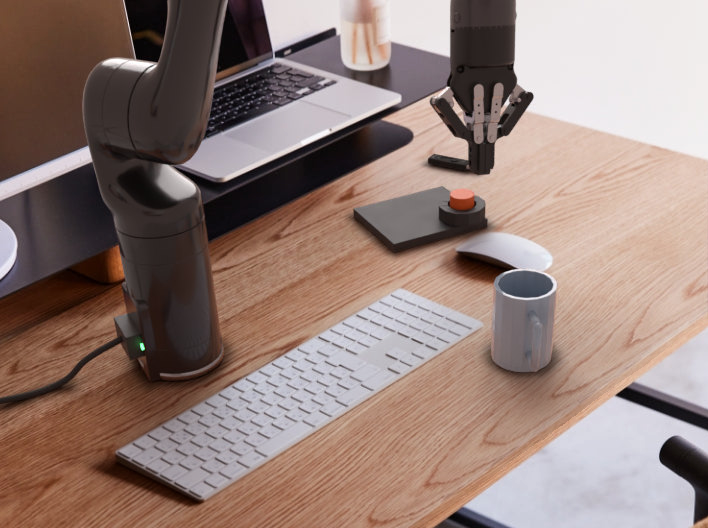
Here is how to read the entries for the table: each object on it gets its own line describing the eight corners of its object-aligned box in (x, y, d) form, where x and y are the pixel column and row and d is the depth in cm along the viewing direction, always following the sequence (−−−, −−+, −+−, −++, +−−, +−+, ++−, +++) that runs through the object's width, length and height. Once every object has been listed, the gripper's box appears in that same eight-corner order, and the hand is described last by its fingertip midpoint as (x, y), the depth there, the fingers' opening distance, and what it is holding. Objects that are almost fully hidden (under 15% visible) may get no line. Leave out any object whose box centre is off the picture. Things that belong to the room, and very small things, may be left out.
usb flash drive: (481, 168, 157) (481, 161, 156) (475, 173, 155) (475, 166, 155) (433, 158, 160) (433, 152, 160) (427, 163, 159) (427, 157, 158)
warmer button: (457, 213, 140) (457, 201, 139) (445, 204, 142) (445, 192, 141) (478, 207, 141) (479, 195, 140) (466, 198, 143) (466, 186, 142)
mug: (485, 342, 119) (488, 271, 114) (543, 337, 120) (548, 266, 114) (503, 390, 112) (507, 316, 107) (565, 384, 112) (571, 311, 107)
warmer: (396, 254, 137) (395, 233, 135) (353, 216, 146) (352, 196, 144) (493, 227, 142) (494, 206, 140) (445, 192, 151) (446, 172, 149)
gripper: (520, 19, 128) (517, 165, 135) (417, 24, 125) (418, 174, 131) (549, 20, 122) (544, 174, 128) (441, 25, 118) (441, 183, 124)
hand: (480, 173), depth 129 cm, fingers closed
